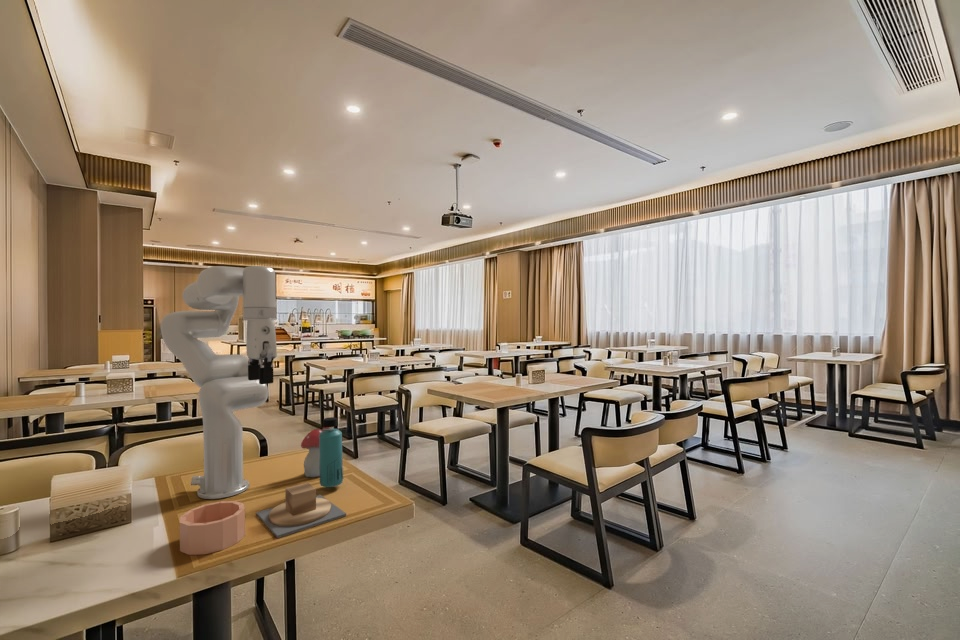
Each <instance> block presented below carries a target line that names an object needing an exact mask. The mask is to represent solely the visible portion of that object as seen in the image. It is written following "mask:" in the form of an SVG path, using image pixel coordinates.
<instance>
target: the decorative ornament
mask: <svg viewBox="0 0 960 640" xmlns="http://www.w3.org/2000/svg"><path fill="white" fill-rule="evenodd" d="M326 429H331V427H323V426H322V429H319V428H316V429H313V430H311V431H309V432H308V433H307V435H306V436H305V437H304V438H303V440H301V444H300V447H301V448H302V449H304V450H305V449H307V450H309V451H308V453H307V454H306V456H305V458H304V460H303V469H304V473H303V476H304V477H305V478H319V475H320V469H319V468H320V466H319V464H320V463H319V457H320V453H319V434H320V433H321V432H322V431H323V430H326Z"/></svg>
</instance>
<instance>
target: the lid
mask: <svg viewBox="0 0 960 640" xmlns="http://www.w3.org/2000/svg"><path fill="white" fill-rule="evenodd" d="M284 492H285V493H284V494H285V502H282V503H279V504H278V505H276V506H274V507H275V508H273V507H272V508H273V509H272V510H271V511H270V513H269V520H270V522H271V523H273V524H275V525H279V526H299V525H304V524H308V523H312V522H315V521H317V520H319V519H322V518H323V517H325V516H326V515H327V514H329V512H330V511H331V503H332V502H331V501H330V500H329V499H327V498H326V499H327V500H326V499H323V498H318V497H316V495H317V489H316V488H315V487H314V486H313V485H312V484H311V483H310V482H305V483H300V484H298V485H292V486H289V487H288V486H287V487H285V490H284ZM329 501H330V502H331V503H330V502H329Z"/></svg>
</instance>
